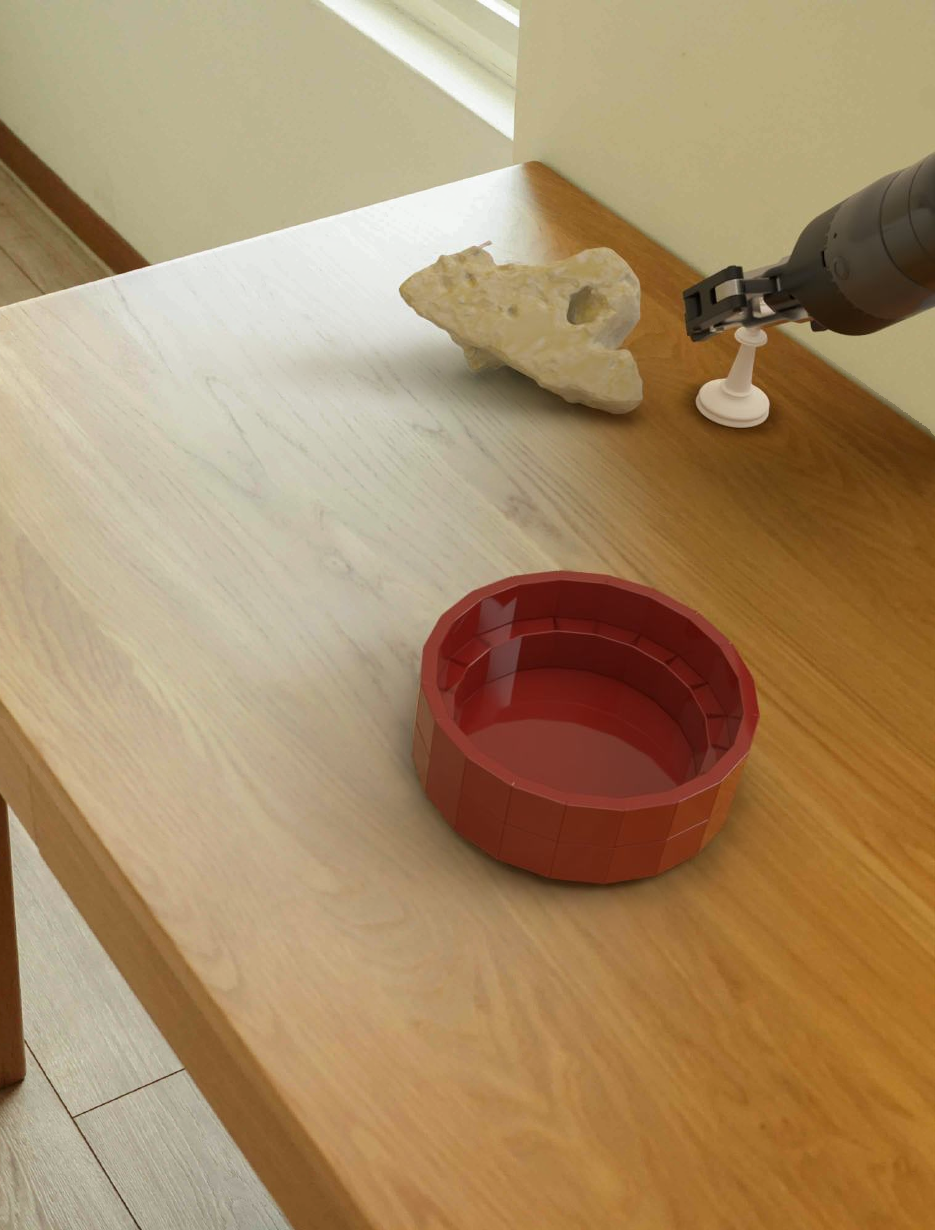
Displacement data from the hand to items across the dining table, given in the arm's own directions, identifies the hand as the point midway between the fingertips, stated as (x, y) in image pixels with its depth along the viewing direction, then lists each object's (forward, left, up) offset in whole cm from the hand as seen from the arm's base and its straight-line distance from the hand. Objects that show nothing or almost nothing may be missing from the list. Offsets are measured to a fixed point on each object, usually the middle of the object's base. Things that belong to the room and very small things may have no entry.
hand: (754, 321), depth 100 cm
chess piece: (0, 0, -7) cm, 7 cm away
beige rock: (+14, -5, -7) cm, 16 cm away
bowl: (+22, +29, -7) cm, 37 cm away
